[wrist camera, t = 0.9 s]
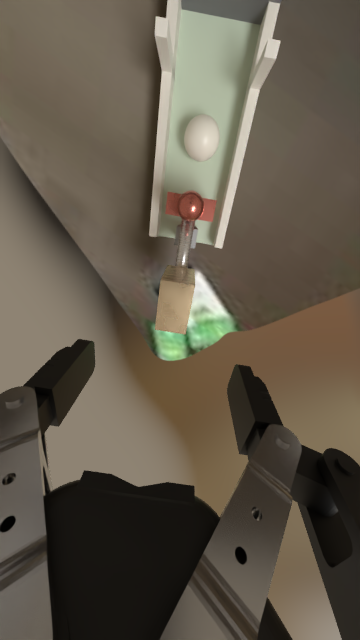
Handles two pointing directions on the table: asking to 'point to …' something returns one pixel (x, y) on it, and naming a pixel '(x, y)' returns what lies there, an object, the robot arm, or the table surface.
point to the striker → (181, 262)
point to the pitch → (208, 101)
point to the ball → (202, 137)
